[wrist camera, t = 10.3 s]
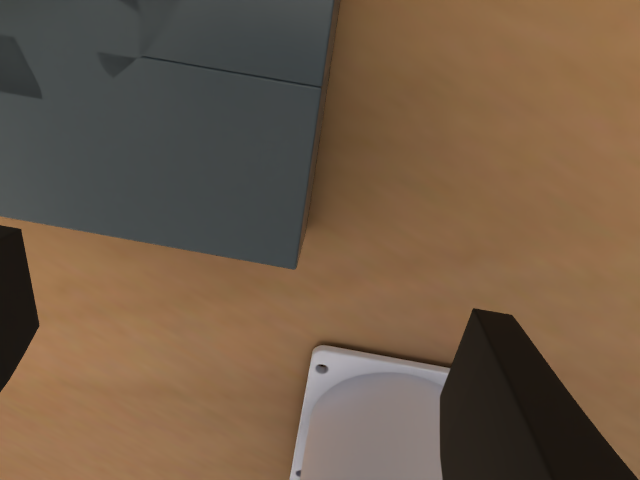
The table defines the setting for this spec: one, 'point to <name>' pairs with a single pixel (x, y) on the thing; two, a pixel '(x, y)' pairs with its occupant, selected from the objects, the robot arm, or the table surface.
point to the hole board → (166, 119)
